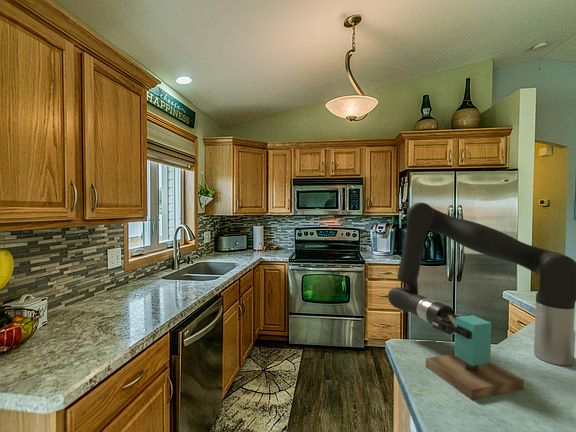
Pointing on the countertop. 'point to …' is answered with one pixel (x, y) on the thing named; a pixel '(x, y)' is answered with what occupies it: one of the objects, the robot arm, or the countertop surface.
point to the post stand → (474, 376)
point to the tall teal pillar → (474, 340)
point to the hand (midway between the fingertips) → (480, 334)
